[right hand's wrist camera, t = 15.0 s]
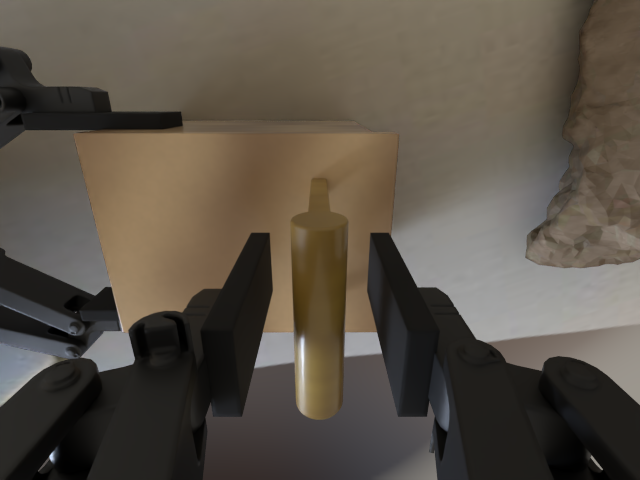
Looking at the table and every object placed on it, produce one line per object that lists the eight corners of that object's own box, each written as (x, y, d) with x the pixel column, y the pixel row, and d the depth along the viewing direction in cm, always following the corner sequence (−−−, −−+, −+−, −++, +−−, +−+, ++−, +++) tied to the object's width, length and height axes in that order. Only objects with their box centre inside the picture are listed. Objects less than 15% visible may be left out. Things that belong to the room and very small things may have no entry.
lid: (395, 131, 15) (464, 158, 8) (380, 322, 19) (418, 457, 12) (85, 131, 15) (-124, 158, 8) (131, 322, 19) (15, 459, 12)
